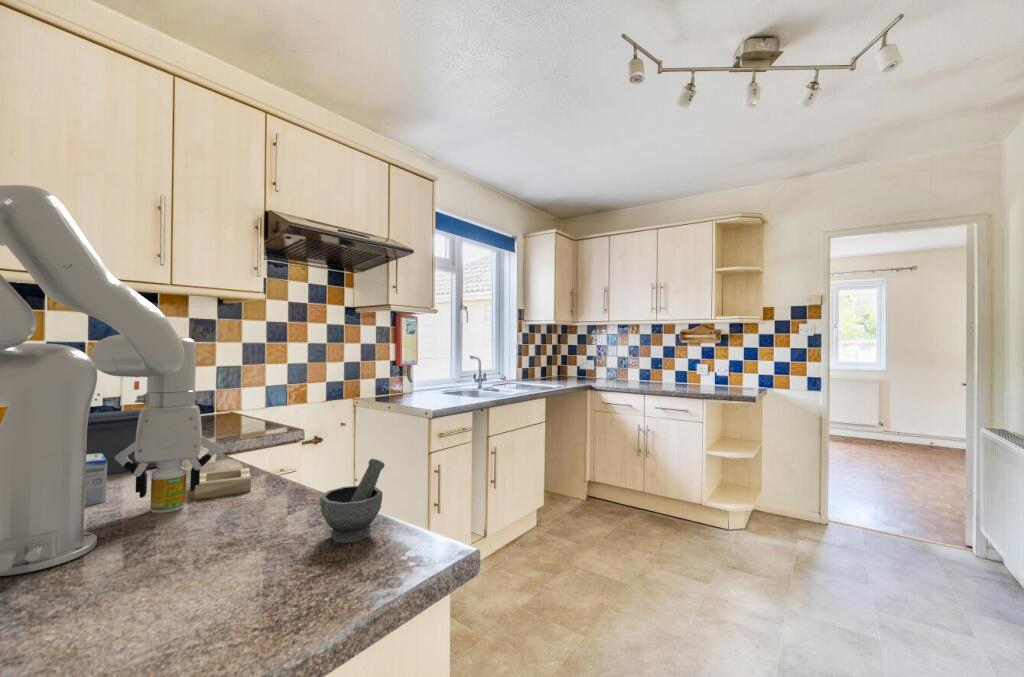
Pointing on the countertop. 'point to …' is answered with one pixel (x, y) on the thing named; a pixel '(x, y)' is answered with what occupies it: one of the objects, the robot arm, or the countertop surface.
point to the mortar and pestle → (353, 506)
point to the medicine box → (95, 479)
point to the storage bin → (113, 436)
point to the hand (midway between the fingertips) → (168, 491)
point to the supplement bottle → (168, 487)
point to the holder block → (223, 482)
